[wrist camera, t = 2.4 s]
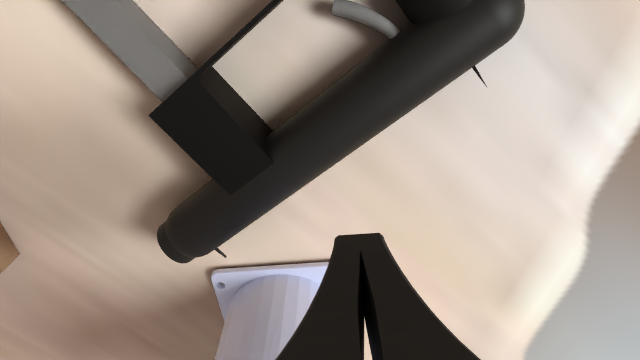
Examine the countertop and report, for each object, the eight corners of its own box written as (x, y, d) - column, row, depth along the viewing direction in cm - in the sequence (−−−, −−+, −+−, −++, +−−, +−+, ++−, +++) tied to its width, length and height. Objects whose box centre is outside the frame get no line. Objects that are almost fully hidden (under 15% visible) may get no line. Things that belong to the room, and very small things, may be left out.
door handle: (-83, 48, 17) (202, 291, 22) (280, -470, 10) (565, 49, 16) (-21, 35, 20) (219, 252, 25) (294, -376, 13) (530, 34, 19)
